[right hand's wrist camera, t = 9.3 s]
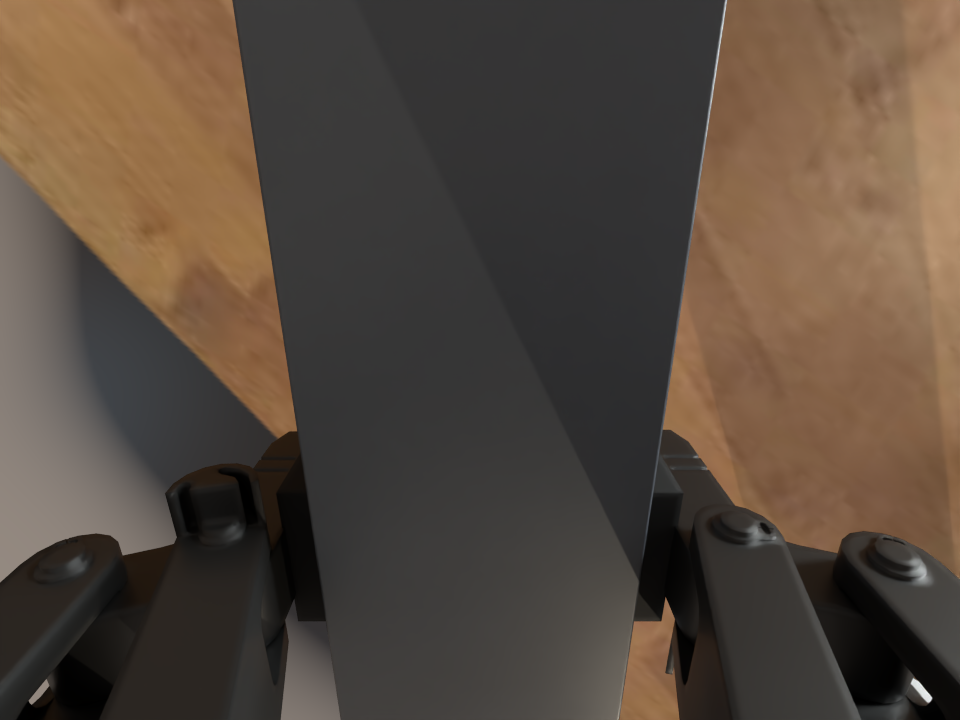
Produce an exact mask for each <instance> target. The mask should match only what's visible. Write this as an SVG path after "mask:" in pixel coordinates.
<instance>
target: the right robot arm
mask: <svg viewBox="0 0 960 720" xmlns="http://www.w3.org/2000/svg"><path fill="white" fill-rule="evenodd" d="M165 495H166V499H167V502H168V506H169V510H170V513H171V517H172V521H173V524H174V528H175V532H176V536H177V538H176V541H175V543H174V544H172V545H168V546H165V547H161V548H157V549H152V550H147V551H142V552H138V553H133V554H128V555H124V556H123V555H122V552H121V549H120V546H119V543H118V541H116V540H115V539H114V538H113V537H111V536H109V535H103V534H89V535H81V536H76V537H72V538H69V539H65V540H62V541H59V542H57V543H55V544H53V545H51V546H49V547H47V548H45V549H43V550H41V551H39V552H37V553H36V554H34V555H33V556H32V557H30V558H29V559H27V560H26V561H25V562H23V563H22V564H20V565H19V566H18V567H17V568H16V569H15V570H14V571H13V572H12V573H10V574H9V575H8V576H7V577H6V578H5V579H4V580H3V581H1V582H0V720H280V719H281V710H282V700H283V690H284V681H285V671H286V662H287V652H288V642H289V641H288V634H287V628H286V623H285V619H286V617H287V614H288V612H289V610H290V607H291V605H292V602H293V600H294V599H295V605H296V611H297V616H298V621H326V618H325V611H324V605H323V598H322V591H321V585H320V578H319V571H318V565H317V558H316V552H315V545H314V538H313V532H312V525H311V518H310V512H309V505H308V498H307V492H306V485H305V479H304V472H303V465H302V459H301V452H300V445H299V439H298V432H288V433H286V434H285V435H283V436H282V437H280V438H279V439H277V440H276V441H275V442H273V443H272V444H271V445H270V446H269V448H268V449H267V450H266V452H265V453H264V455H263V456H262V459H261V460H259V461H258V463H257V464H256V466H255V467H254V468H251V467H250V466H246V465H242V464H237V463H236V464H219V465H214V466H210V467H205V468H202V469H200V470H197V471H195V472H192V473H190V474H187V475H186V476H184V477H183V478H181V479H180V480H178V481H177V482H175V483H174V484H173V485H172V486H171V487H170V488H169V489H168V491H167V492H166V493H165ZM665 597H666V598H667V601H668V603H669V606H670V608H671V610H672V613H673V615H674V617H675V623H674V628H673V633H672V639H671V644H670V649H669V655H668V660H667V666H666V673H668V674H672V673H673V668H674V670H675V680H676V689H677V699H678V708H679V718H680V720H960V579H958V578H957V577H956V576H955V575H954V574H953V573H952V572H951V571H949V570H948V569H947V568H946V567H945V566H944V565H943V564H942V563H941V562H939V561H938V560H936V559H935V558H934V557H932V556H931V555H929V554H928V553H927V552H925V551H924V550H922V549H920V548H918V547H916V546H914V545H912V544H910V543H908V542H906V541H905V540H902V539H899V538H897V537H892V536H890V535H886V534H882V533H874V532H866V531H862V532H855V533H850V534H848V535H847V536H846V537H845V538H843V539H842V542H841V545H840V548H839V551H838V554H837V553H833V552H828V551H823V550H819V549H814V548H809V547H804V546H800V545H796V544H792V543H789V542H785V540H784V537H783V536H782V534H781V533H780V532H779V530H778V529H777V527H776V526H775V525H774V524H772V523H771V522H770V521H768V520H767V519H766V518H764V517H763V516H761V515H759V514H757V513H755V512H753V511H750V510H748V509H746V508H742V507H738V506H735V505H734V504H733V502H732V501H731V499H730V498H729V497H728V495H727V494H726V493H725V491H724V490H723V489H722V487H721V486H720V484H719V483H718V482H717V480H716V479H715V478H714V476H713V475H712V474H711V472H710V471H709V470H707V467H706V465H705V464H704V463H703V461H702V460H701V459H700V458H698V454H697V453H696V452H695V450H694V449H693V448H692V446H691V445H690V443H689V442H688V441H686V440H685V439H683V438H682V437H680V436H679V435H677V434H676V433H674V432H673V431H671V430H662V437H661V444H660V450H659V457H658V464H657V470H656V477H655V484H654V490H653V497H652V504H651V510H650V517H649V524H648V530H647V537H646V544H645V550H644V557H643V564H642V570H641V577H640V584H639V590H638V597H637V604H636V610H635V617H634V621H661V620H662V614H663V608H664V603H665ZM913 677H915V678H916V679H917V680H918V681H919V683H920V684H921V685H922V686H923V687H924V689H925V690H926V691H927V692H928V693H929V695H930V696H931V697H932V700H931V701H930V702H929V703H928V702H927V701H926V700H925V699H924V698H923V697H921V696H920V695H919V693H918V692H917V691H916V690H915V688H914V687H913V686H912V685H911V682H912V680H913ZM46 679H47V681H48V683H49V687H48V688H47V690H46V691H45V692H44V693H43V695H42V696H41V697H40V698H39V699H38V700H37V701H36V702H34V703H33V704H32V705H31V704H30V703H29V701H28V700H29V699H30V698H31V697H32V696H33V694H34V693H35V692H36V691H37V689H38V688H39V687H40V686H41V685H42V683H43V682H44V681H45V680H46Z"/></svg>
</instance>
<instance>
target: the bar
mask: <svg viewBox="0 0 960 720" xmlns="http://www.w3.org/2000/svg"><path fill="white" fill-rule="evenodd" d="M232 1H233V7H234V14H235V20H236V27H237V34H238V40H239V47H240V54H241V60H242V67H243V74H244V80H245V87H246V93H247V100H248V107H249V113H250V120H251V127H252V133H253V140H254V147H255V153H256V160H257V167H258V173H259V180H260V186H261V193H262V200H263V206H264V213H265V220H266V226H267V233H268V240H269V246H270V253H271V259H272V266H273V273H274V279H275V286H276V293H277V299H278V306H279V313H280V319H281V326H282V332H283V339H284V346H285V352H286V359H287V366H288V372H289V379H290V386H291V392H292V399H293V406H294V412H295V419H296V425H297V432H298V439H299V445H300V452H301V459H302V465H303V472H304V479H305V485H306V492H307V498H308V505H309V512H310V518H311V525H312V532H313V538H314V545H315V552H316V558H317V565H318V571H319V578H320V585H321V591H322V598H323V605H324V611H325V618H326V624H327V631H328V638H329V644H330V651H331V657H332V664H333V671H334V678H335V684H336V691H337V698H338V704H339V711H340V717H341V720H619V717H620V710H621V704H622V697H623V690H624V684H625V677H626V670H627V664H628V657H629V650H630V644H631V637H632V630H633V624H634V617H635V610H636V604H637V597H638V590H639V584H640V577H641V570H642V564H643V557H644V550H645V544H646V537H647V530H648V524H649V517H650V510H651V504H652V497H653V490H654V484H655V477H656V470H657V464H658V457H659V450H660V444H661V437H662V430H663V424H664V417H665V410H666V404H667V397H668V390H669V384H670V377H671V370H672V364H673V357H674V350H675V344H676V337H677V330H678V324H679V317H680V310H681V303H682V297H683V290H684V283H685V277H686V270H687V263H688V257H689V250H690V243H691V237H692V230H693V223H694V217H695V210H696V203H697V197H698V190H699V183H700V177H701V170H702V163H703V157H704V150H705V143H706V137H707V130H708V123H709V117H710V110H711V103H712V97H713V90H714V83H715V77H716V70H717V63H718V57H719V50H720V43H721V37H722V30H723V23H724V17H725V10H726V3H727V0H232Z"/></svg>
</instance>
